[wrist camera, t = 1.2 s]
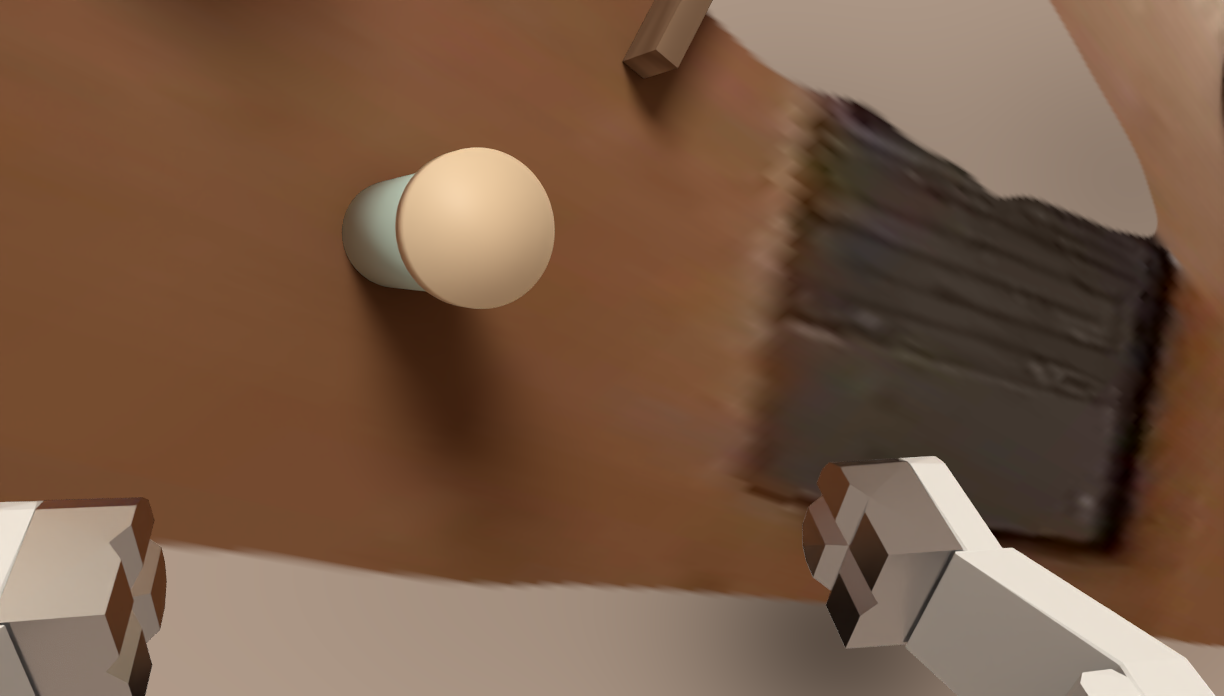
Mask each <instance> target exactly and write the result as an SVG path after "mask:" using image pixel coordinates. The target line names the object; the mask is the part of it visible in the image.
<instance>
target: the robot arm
mask: <svg viewBox="0 0 1224 696" xmlns="http://www.w3.org/2000/svg"><path fill="white" fill-rule="evenodd" d="M817 485H818V487H819V489H820V491H821V493H822V496H821V497H820V498H819V499H817V500H816V501H815V502H814V503H813V504H811V505H810V506H809V507H808V509H807V512H806V516H805V519H804V522H803V525H802V543H803V550H804V554H805V558H806V562H807V564H808V566H809V569H810V571H811V573H812V576H813V578H815V579H816V580H817V581H819V582H820V583H821V584H823V585H824V586H825V587H827V588H828V589H829V590H830V593H829V597H828V600H827V603H826V607H827V609H828V611H829V613H830V616H831V618H832V620H833V622H834V624H835V627H836V629H837V630H838V633H839V635H840V637H841V639H842V642H843V644H844V646H845V648H859V647H873V646H887V645H901V644H907V645H906V649H908V650H909V651H910V652H911V653H912V654H913V655H914V656H915V657H916V658H917V659H918V660H920V661H921V662H922V663H923V664H924V665H925V666H926V667H927V668H928V669H929V670H930V671H932V672H933V673H934V674H935V675H936V676H937V677H938V678H939V679H940V680H941V681H942V682H944V683H945V684H946V685H947V686H948V687H949V688H950V689H951V690H952V691H953V692H954V693H955V694H957V695H958V696H1215V695H1214V693H1213V692H1212V691H1211V690H1210V688H1209V687H1208V686H1207V684H1206V683H1205V682H1204V681H1203V679H1202V678H1201V677H1200V675H1199V674H1198V673H1197V672H1196V670H1195V669H1194V668H1193V666H1192V665H1191V664H1190V663H1189V661H1188V660H1187V659H1186V658H1185V657H1183V656H1182V655H1180V654H1179V653H1177V652H1175V651H1174V650H1172V649H1171V648H1169V647H1167V646H1166V645H1164V644H1163V643H1161V642H1160V641H1158V640H1157V639H1155V638H1153V637H1152V636H1150V635H1149V634H1147V633H1146V632H1144V631H1142V630H1141V629H1139V628H1138V627H1136V626H1135V625H1133V624H1131V623H1130V622H1128V621H1127V620H1125V619H1124V618H1122V617H1120V616H1119V615H1117V614H1116V613H1114V612H1113V611H1111V610H1109V609H1108V608H1106V607H1105V606H1103V605H1102V604H1100V603H1098V602H1097V601H1095V600H1094V599H1092V598H1091V597H1089V596H1087V595H1086V594H1084V593H1083V592H1081V591H1080V590H1078V589H1076V588H1075V587H1073V586H1072V585H1070V584H1069V583H1067V582H1065V581H1064V580H1062V579H1061V578H1059V577H1058V576H1056V575H1054V574H1053V573H1051V572H1050V571H1048V570H1047V569H1045V568H1043V567H1042V566H1040V565H1039V564H1037V563H1036V562H1034V561H1032V560H1031V559H1029V558H1028V557H1026V556H1025V555H1023V554H1021V553H1020V552H1018V551H1017V550H1015V549H1014V548H1002V547H1001V546H1000V544H999V543H998V541H997V540H996V538H995V537H994V535H993V534H992V532H991V531H990V530H989V528H988V527H987V525H986V524H985V522H984V521H983V519H982V518H981V516H980V515H979V513H978V512H977V510H976V509H975V507H974V506H973V504H972V503H971V501H970V500H969V499H968V497H967V496H966V494H965V493H964V491H963V490H962V488H961V487H960V485H959V484H958V482H957V481H956V479H955V478H954V476H953V475H952V473H951V472H950V471H949V469H948V468H947V466H946V465H945V463H944V462H943V461H941V460H940V459H938V458H937V457H935V456H928V457H911V458H900V459H895V458H893V459H877V460H860V461H844V462H829V463H828V464H827V465H826V466H825V467H824V468H823V469H822V471H821V474H820V476H819V479H818V482H817ZM153 524H154V517H153V513H152V510H151V507H150V503H149V500H148V499H145V498H143V497H138V498H102V499H66V500H44V501H24V502H0V696H145V694H146V689H147V685H148V681H149V676H150V672H151V668H152V662H151V659H150V655H149V652H148V648H147V644H146V643H147V642H148V641H149V640H150V639H151V638H152V637H153V636H154V635H155V634H156V633H157V632H158V631H159V630H160V628H161V623H162V618H163V613H164V609H165V597H166V582H167V581H166V569H165V561H164V556H163V553H162V548H161V547H160V546H159V545H157V544H156V543H155V542H153V541H152V540H150V536H151V532H152V528H153Z"/></svg>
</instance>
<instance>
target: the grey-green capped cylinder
mask: <svg viewBox="0 0 1224 696" xmlns="http://www.w3.org/2000/svg"><path fill="white" fill-rule="evenodd" d="M554 233H555V229H554V217H553V212H552V208H551V205H550V201H549V199H548V196H547V194H546V192H545V190H544V188H543V187H542V185H541V183H540V182H539V180H538V179H537V178H536V176H535V175H534V174H533V173H532V172H531V171H530V170H529V169H528V168H527V167H526V166H525V165H524V164H522V163H521V162H520V161H518V160H517V159H515V158H513V157H512V156H510V155H508V154H505V153H503V152H501V151H497V150H494V149H488V148H466V149H461V150H457V151H454V152H450V153H447V154H444V155H441V156H439V157H437V158H434V159H433V160H431V161H430V162H428V163H426V164H425V165H424V166H423V167H422V168H420V169H419V170H418V171H417V172H416V173H415V174H411V175H407V176H403V177H399V178H395V179H391V180H387V181H383V182H379V183H376V184H373V185H371V186H369V187H367V188H366V189H364V190H363V191H361V192H360V193H359V194H358V195H357V196H356V197H355V198H354V199H353V200H352V202H351V203H350V205H349V207H348V209H347V211H346V213H345V216H344V219H343V225H342V240H343V245H344V249H345V252H346V254H347V256H348V258H349V260H350V262H351V263H352V265H353V266H354V268H355V269H356V270H357V271H358V272H359V273H360V274H361V275H362V276H364V277H365V278H366V279H368V280H370V281H371V282H373V283H376V284H378V285H381V286H385V287H390V288H399V289H408V290H418V291H426V292H427V293H429V294H430V295H432V296H433V297H435V298H437V299H439V300H441V301H443V302H445V303H448V304H451V305H455V306H460V307H466V308H474V309H488V308H495V307H499V306H503V305H506V304H508V303H511V302H513V301H515V300H516V299H518V298H520V297H521V296H523V295H524V294H525V293H527V292H528V291H529V290H530V289H531V288H532V287H533V286H534V285H535V284H536V282H537V281H538V280H539V279H540V277H541V276H542V274H543V272H544V271H545V269H546V267H547V264H548V262H549V260H550V256H551V253H552V249H553V244H554Z"/></svg>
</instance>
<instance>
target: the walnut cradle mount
mask: <svg viewBox="0 0 1224 696" xmlns="http://www.w3.org/2000/svg"><path fill="white" fill-rule="evenodd" d="M711 2H712V0H654V2H653V4H652V6H651V8H650V10H649V12H648V14H647V16H646V18H645V20H644V21H643V23H642V25H641V27H640V29H639V31H638V33H637V35H636V37H635V39H634V40H633V42H632V44H631V46H630V48H629V50H628V52H627V54H626V56H625V58H624V59H623V62H624V63H625V64H626V65H627V66H629V67H630V68H631V69H632V70H634V71H635V72H636V73H637V74H638V75H640V76H641V77H642V78H643V79H645V78H648V77H651V76H654V75H657V74H661V73H664V72H667V71H670V70H673V69H677V68H678V67H679V65H680V63H681V61H682V59H683V57H684V55H685V53H686V51H687V49H688V47H689V45H690V43H691V41H692V40H693V38H694V36H695V34H696V32H697V30H698V28H699V26H700V24H701V22H702V20H703V18H704V16H705V14H706V12H707V10H708V8H709V6H710V4H711Z"/></svg>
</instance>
